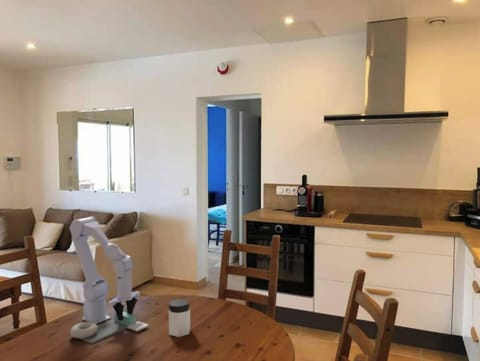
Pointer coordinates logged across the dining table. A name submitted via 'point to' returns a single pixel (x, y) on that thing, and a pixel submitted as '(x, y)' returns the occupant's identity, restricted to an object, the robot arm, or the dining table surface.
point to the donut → (84, 330)
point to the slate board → (105, 331)
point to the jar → (179, 317)
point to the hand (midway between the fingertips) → (125, 318)
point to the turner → (131, 321)
